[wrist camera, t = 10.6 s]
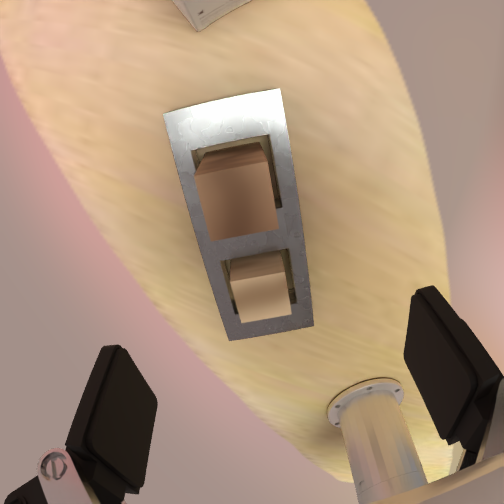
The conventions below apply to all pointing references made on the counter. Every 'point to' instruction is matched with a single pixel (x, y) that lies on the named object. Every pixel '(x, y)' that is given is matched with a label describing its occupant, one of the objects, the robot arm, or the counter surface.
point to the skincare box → (206, 10)
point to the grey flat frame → (287, 205)
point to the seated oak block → (260, 286)
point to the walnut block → (236, 192)
